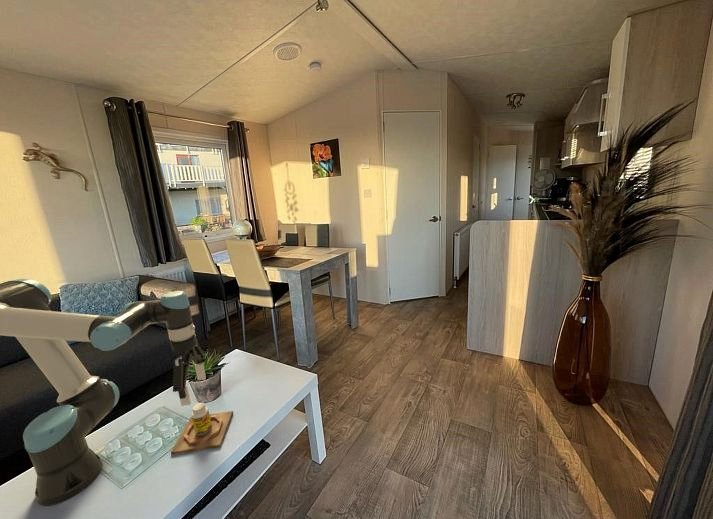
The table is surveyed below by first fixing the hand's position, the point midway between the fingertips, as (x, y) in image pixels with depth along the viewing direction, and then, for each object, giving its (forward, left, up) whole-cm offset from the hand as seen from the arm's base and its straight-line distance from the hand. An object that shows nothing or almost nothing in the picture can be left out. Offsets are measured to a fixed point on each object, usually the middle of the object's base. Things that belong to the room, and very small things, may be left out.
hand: (194, 391), depth 104 cm
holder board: (0, 0, -18) cm, 18 cm away
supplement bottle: (0, 0, -17) cm, 17 cm away
